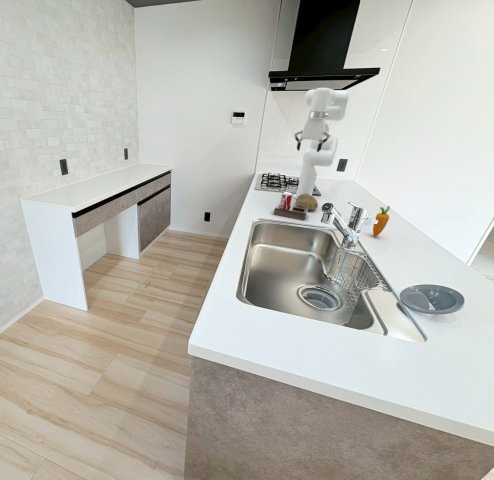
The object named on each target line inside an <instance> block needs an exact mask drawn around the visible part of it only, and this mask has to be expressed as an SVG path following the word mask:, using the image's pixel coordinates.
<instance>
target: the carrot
mask: <svg viewBox="0 0 494 480" xmlns="http://www.w3.org/2000/svg"><path fill="white" fill-rule="evenodd" d="M379 209H380V210H381V212H378V213H377V214H376V215H375V218H374V220H375V219H376V220H378V223H377V224H374V223H373V225H372V234H373V237H378V236H379V235H380V234H381V233H382V232H383V231H384V229H385V228H386V226H387V224H388V222H389V219H390V215H389V214H387V213H388V212H389V211H390V209H391V206H390V205H387V207H386V209H385V208H384V207H382V206H379Z"/></svg>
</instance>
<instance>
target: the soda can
mask: <svg viewBox="0 0 494 480" xmlns="http://www.w3.org/2000/svg"><path fill="white" fill-rule="evenodd" d="M292 200H293V193H292V192H287V191H284V192H282V194H281V198H280V203H279V204H280V208H283V209H289V208H290V206H291V204H292Z"/></svg>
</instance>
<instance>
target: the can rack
mask: <svg viewBox="0 0 494 480" xmlns="http://www.w3.org/2000/svg"><path fill="white" fill-rule="evenodd" d="M308 211H309V210H308V209H306V208H303V207H301V206H295V205H290V208H289V209H283V208H280V203H277V205H276V206H275V207H274V210H273V215H274V216H278V217H285V218H290V219H295V220H300V221H306V218H307V215H308Z"/></svg>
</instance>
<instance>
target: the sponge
mask: <svg viewBox="0 0 494 480" xmlns="http://www.w3.org/2000/svg"><path fill="white" fill-rule="evenodd" d="M295 202H296V204H297V205H298V207H300V208H306V209H308V211H314V210H316V209H317V208H318V206H319V203H318V201H317V199H316V198H315V197H314V196H313V195H312V196H311V195H309V194H302V195H300V196H298V197H297V199H295Z"/></svg>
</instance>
